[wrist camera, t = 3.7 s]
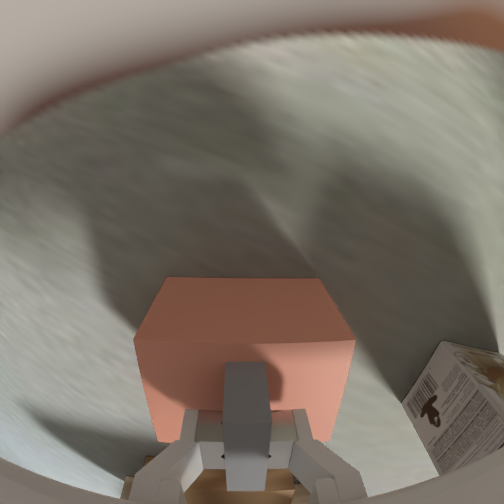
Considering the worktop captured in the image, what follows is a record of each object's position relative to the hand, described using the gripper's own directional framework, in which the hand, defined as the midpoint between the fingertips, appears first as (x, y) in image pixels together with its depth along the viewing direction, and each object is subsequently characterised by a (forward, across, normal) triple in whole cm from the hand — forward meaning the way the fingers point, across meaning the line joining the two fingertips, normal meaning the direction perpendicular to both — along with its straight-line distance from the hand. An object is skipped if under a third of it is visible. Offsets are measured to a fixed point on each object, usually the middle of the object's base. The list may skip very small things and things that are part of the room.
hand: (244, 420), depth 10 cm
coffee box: (+7, -17, +6) cm, 19 cm away
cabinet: (+7, 0, 0) cm, 7 cm away
